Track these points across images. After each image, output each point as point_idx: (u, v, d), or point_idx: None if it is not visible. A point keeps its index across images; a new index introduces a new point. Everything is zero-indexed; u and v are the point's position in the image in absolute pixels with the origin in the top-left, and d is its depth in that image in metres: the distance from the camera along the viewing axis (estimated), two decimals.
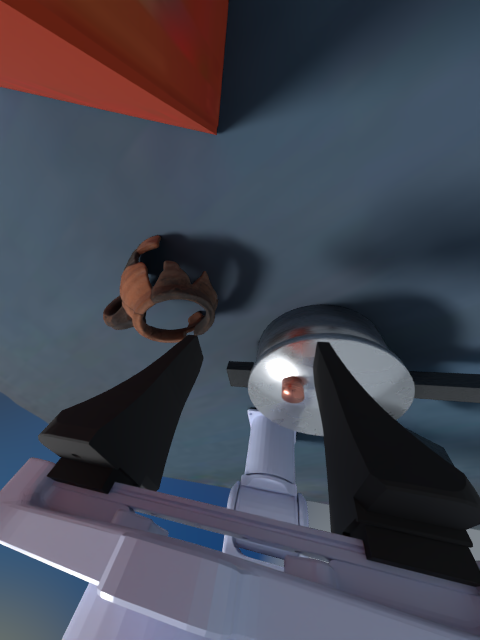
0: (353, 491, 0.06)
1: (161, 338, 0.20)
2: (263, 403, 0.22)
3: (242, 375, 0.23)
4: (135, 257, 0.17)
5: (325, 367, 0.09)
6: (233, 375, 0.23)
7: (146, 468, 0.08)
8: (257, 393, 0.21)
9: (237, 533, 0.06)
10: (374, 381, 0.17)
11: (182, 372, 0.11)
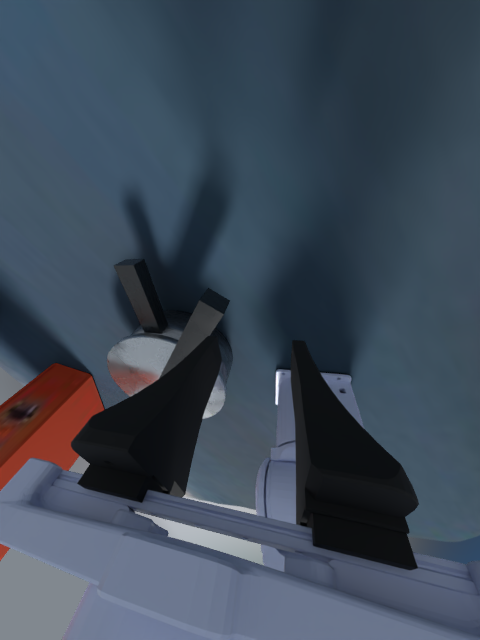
0: (305, 482, 0.06)
1: None
2: None
3: None
4: None
5: (295, 365, 0.09)
6: None
7: (174, 474, 0.08)
8: None
9: (237, 533, 0.06)
10: (131, 361, 0.23)
11: (205, 374, 0.11)
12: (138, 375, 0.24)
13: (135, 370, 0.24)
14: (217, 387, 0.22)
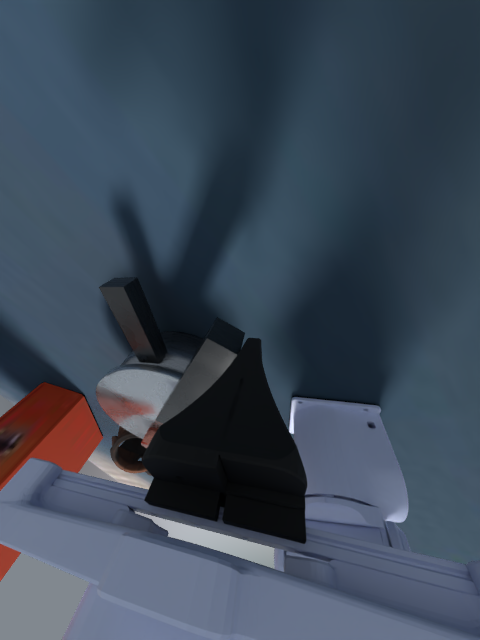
0: None
1: None
2: None
3: None
4: None
5: None
6: None
7: None
8: None
9: (237, 533, 0.06)
10: (124, 394, 0.19)
11: None
12: (133, 409, 0.21)
13: (129, 404, 0.20)
14: None
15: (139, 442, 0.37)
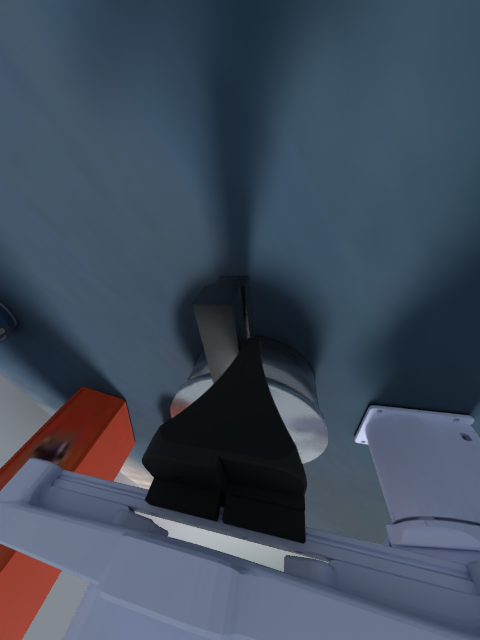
0: None
1: None
2: None
3: None
4: None
5: None
6: None
7: None
8: None
9: (237, 533, 0.06)
10: None
11: None
12: None
13: None
14: (303, 412, 0.15)
15: None
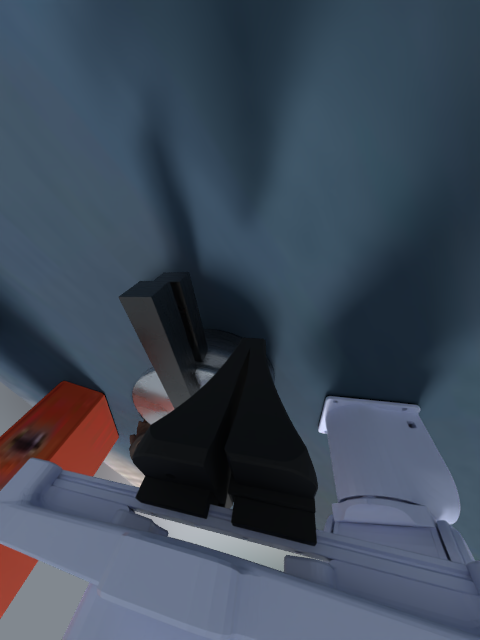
0: None
1: None
2: None
3: None
4: (138, 443, 0.35)
5: (249, 361, 0.10)
6: None
7: (227, 485, 0.08)
8: None
9: (237, 533, 0.06)
10: (155, 406, 0.20)
11: (245, 378, 0.10)
12: None
13: (166, 414, 0.21)
14: None
15: None
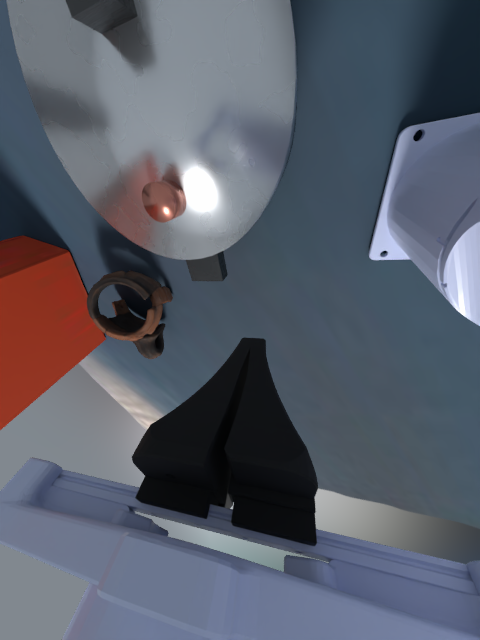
0: None
1: (141, 327, 0.23)
2: (247, 194, 0.11)
3: (195, 262, 0.17)
4: (110, 318, 0.27)
5: (249, 361, 0.10)
6: (200, 274, 0.17)
7: (227, 485, 0.08)
8: (233, 224, 0.12)
9: (237, 533, 0.06)
10: (68, 105, 0.11)
11: (245, 378, 0.10)
12: (106, 150, 0.12)
13: (92, 135, 0.12)
14: None
15: (134, 324, 0.29)
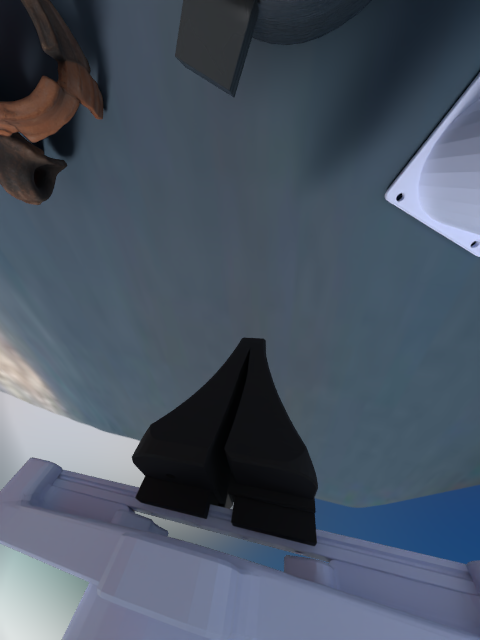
0: None
1: (14, 101, 0.11)
2: None
3: (201, 12, 0.09)
4: None
5: (249, 361, 0.10)
6: (197, 48, 0.10)
7: (227, 485, 0.08)
8: None
9: (237, 533, 0.06)
10: None
11: (245, 378, 0.10)
12: None
13: None
14: None
15: None
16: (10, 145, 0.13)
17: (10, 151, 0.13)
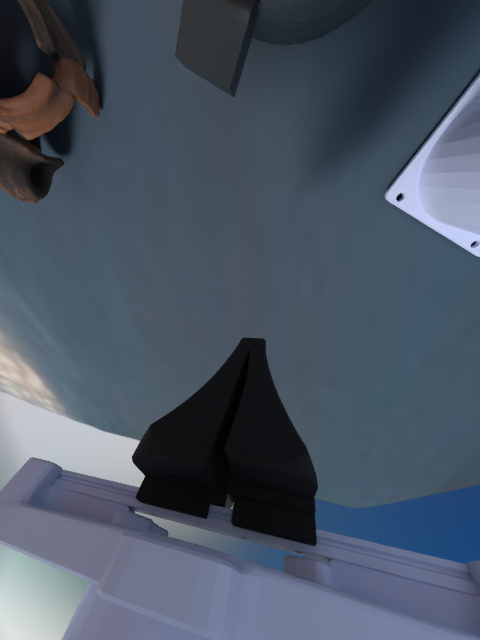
0: None
1: (8, 98, 0.11)
2: None
3: (201, 12, 0.09)
4: None
5: (249, 361, 0.10)
6: (197, 48, 0.10)
7: (227, 485, 0.08)
8: None
9: (237, 533, 0.06)
10: None
11: (245, 378, 0.10)
12: None
13: None
14: None
15: None
16: (6, 143, 0.13)
17: (6, 149, 0.13)
